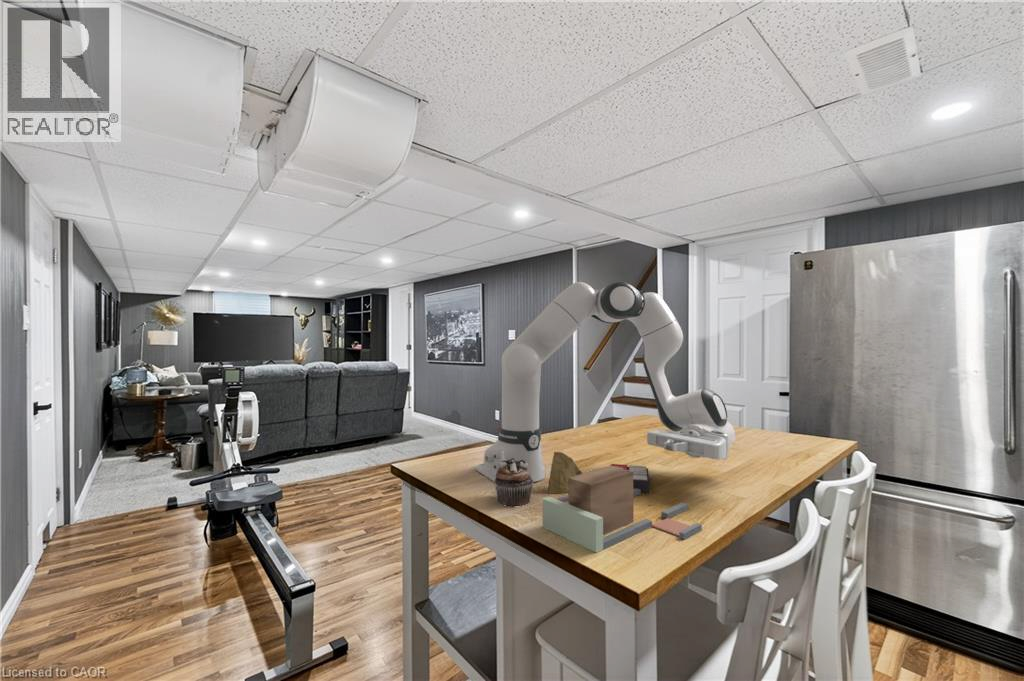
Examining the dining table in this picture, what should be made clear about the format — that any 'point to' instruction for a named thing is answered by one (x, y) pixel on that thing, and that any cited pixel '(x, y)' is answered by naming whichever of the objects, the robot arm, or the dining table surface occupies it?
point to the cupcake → (513, 483)
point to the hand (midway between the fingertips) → (668, 447)
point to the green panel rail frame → (590, 526)
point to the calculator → (638, 476)
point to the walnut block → (604, 495)
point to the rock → (561, 473)
